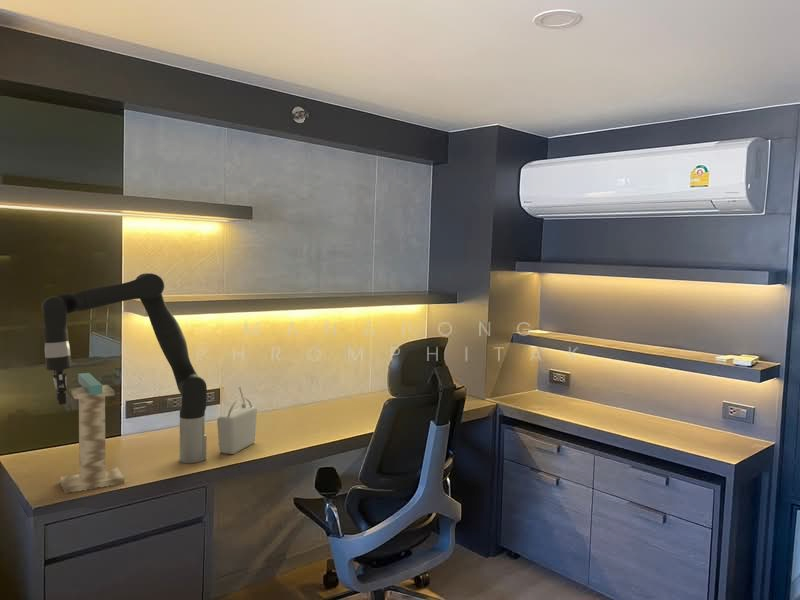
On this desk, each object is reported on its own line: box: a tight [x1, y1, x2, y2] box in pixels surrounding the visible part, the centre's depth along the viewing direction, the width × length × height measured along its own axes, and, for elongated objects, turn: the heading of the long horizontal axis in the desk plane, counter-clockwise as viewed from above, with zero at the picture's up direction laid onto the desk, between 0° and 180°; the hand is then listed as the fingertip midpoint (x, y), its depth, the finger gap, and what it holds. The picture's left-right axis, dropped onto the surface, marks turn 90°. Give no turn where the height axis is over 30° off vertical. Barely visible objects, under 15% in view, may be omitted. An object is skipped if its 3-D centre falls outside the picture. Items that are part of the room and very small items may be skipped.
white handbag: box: [216, 386, 258, 455], centre depth 249 cm, size 22×8×25 cm, turn 165°
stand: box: [59, 384, 125, 494], centre depth 206 cm, size 18×12×32 cm, turn 126°
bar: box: [77, 372, 103, 395], centre depth 208 cm, size 4×26×3 cm, turn 36°
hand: (61, 402), depth 205 cm, fingers open, 8 cm apart
